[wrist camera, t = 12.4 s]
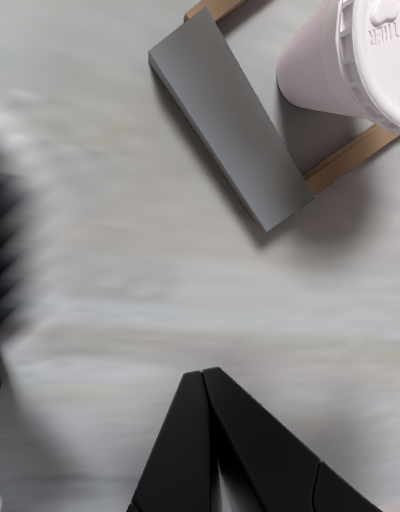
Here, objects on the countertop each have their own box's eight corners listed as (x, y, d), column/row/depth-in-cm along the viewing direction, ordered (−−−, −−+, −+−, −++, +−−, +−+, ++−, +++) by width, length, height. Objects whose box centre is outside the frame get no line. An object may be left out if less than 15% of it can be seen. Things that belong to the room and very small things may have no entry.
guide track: (257, 227, 21) (271, 239, 19) (142, 52, 17) (140, 39, 15) (535, 30, 19) (588, 16, 17) (476, -211, 16) (533, -271, 13)
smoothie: (328, -34, 17) (922, -580, 4) (388, 81, 19) (899, -26, 6) (226, 58, 18) (441, -142, 5) (295, 159, 20) (573, 212, 7)
